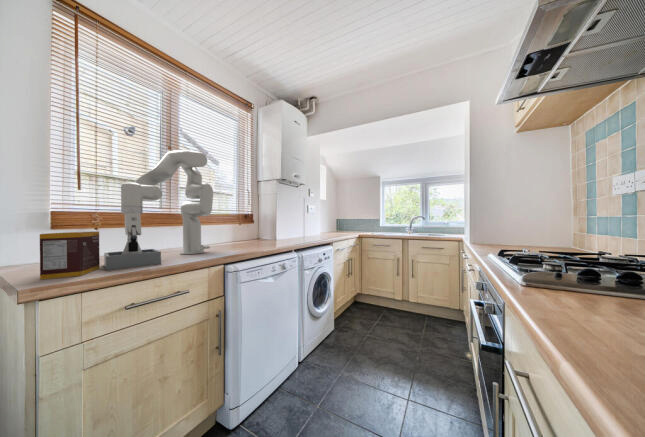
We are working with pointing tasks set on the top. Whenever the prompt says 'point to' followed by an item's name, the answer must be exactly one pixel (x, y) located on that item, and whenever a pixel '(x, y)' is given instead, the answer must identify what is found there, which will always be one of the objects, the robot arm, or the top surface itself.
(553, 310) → the top surface
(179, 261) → the top surface
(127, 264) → the bin
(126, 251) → the flask
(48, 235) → the supplement box
